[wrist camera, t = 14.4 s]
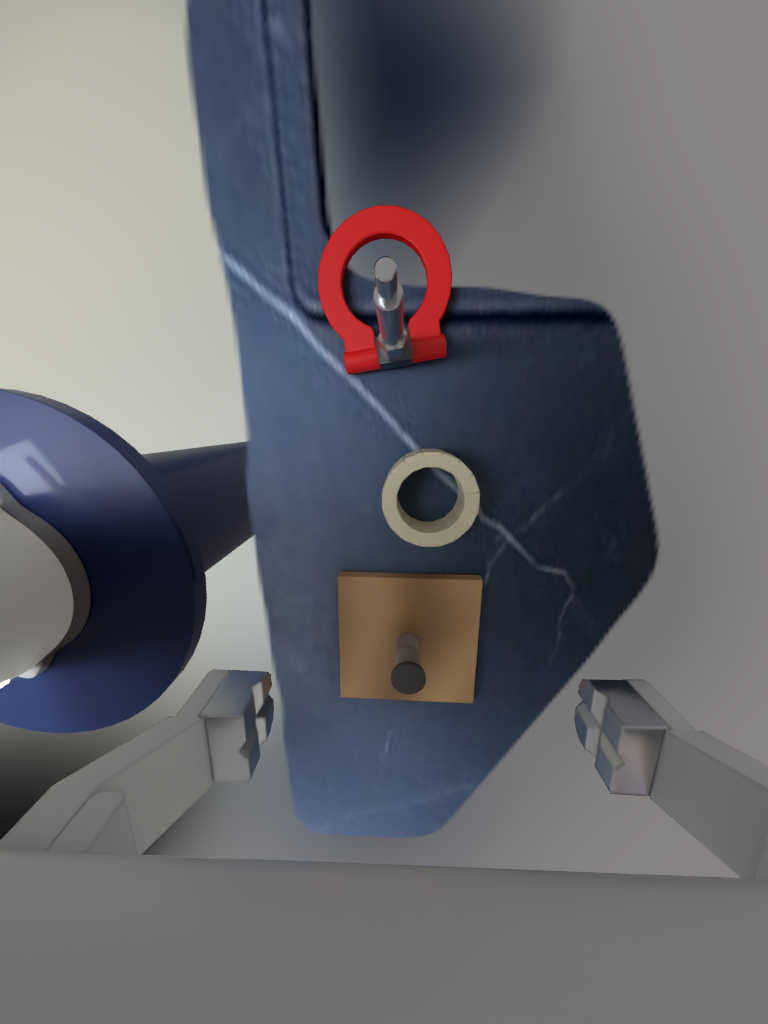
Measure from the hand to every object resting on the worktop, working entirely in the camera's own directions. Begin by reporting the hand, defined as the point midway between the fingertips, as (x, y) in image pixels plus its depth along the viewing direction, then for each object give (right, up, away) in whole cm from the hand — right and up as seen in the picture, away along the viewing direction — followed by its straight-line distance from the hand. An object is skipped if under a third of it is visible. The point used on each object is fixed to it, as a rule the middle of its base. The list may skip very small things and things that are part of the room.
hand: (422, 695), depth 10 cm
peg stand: (+1, -5, +20) cm, 21 cm away
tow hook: (-1, +19, +14) cm, 24 cm away
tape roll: (+2, +6, +17) cm, 18 cm away
